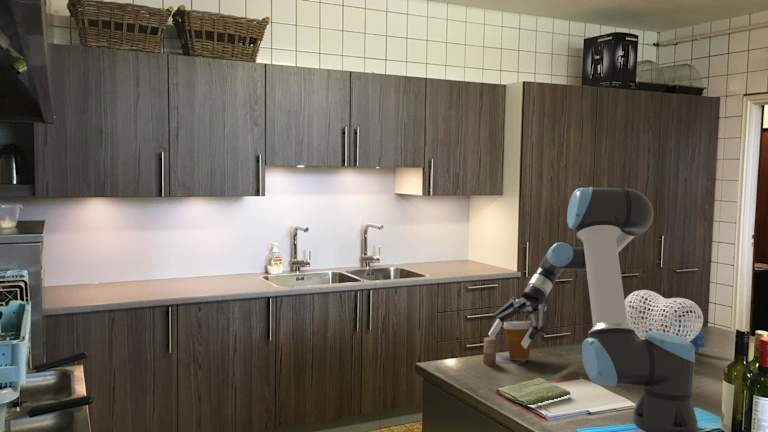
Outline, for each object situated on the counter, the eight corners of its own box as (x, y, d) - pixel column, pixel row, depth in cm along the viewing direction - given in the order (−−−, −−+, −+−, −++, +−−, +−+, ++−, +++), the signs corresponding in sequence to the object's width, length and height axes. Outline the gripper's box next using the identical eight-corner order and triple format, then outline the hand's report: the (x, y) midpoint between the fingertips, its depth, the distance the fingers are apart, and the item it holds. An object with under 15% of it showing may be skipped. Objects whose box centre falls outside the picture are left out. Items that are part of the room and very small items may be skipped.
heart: (611, 349, 235) (614, 288, 233) (640, 344, 243) (644, 285, 241) (679, 372, 211) (684, 304, 209) (710, 366, 218) (714, 300, 216)
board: (509, 376, 203) (509, 372, 203) (474, 367, 211) (475, 363, 211) (539, 361, 219) (539, 357, 218) (505, 353, 226) (506, 350, 226)
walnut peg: (491, 366, 208) (492, 341, 208) (480, 363, 211) (481, 339, 210) (498, 363, 211) (499, 339, 211) (487, 360, 214) (488, 336, 213)
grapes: (665, 350, 236) (667, 317, 235) (672, 346, 241) (675, 314, 240) (699, 357, 228) (701, 323, 227) (706, 354, 233) (708, 320, 232)
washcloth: (495, 395, 187) (495, 384, 187) (540, 386, 196) (541, 375, 196) (527, 411, 176) (528, 400, 176) (574, 400, 185) (574, 389, 185)
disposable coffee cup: (501, 360, 213) (498, 323, 214) (510, 356, 221) (508, 320, 222) (529, 361, 208) (527, 322, 209) (538, 357, 216) (535, 320, 218)
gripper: (572, 304, 216) (542, 357, 208) (512, 291, 235) (482, 339, 227) (563, 290, 212) (533, 343, 204) (503, 278, 231) (473, 326, 223)
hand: (506, 341), depth 215 cm, fingers open, 13 cm apart
